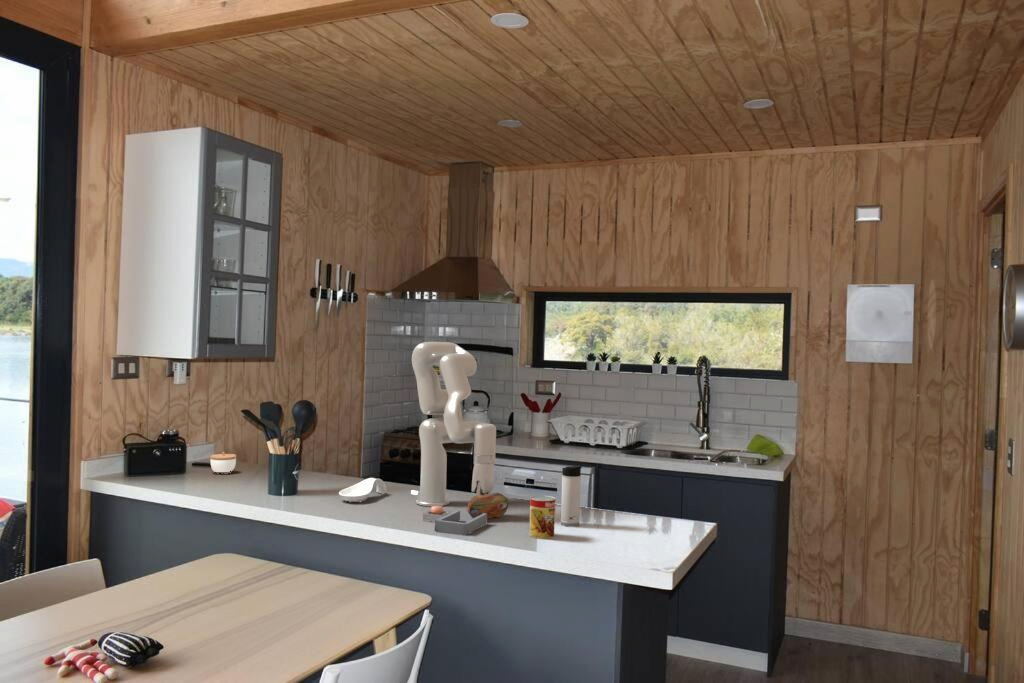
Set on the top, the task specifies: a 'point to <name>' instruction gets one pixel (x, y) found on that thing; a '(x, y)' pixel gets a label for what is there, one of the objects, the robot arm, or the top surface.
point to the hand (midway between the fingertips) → (483, 512)
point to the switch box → (434, 516)
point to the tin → (488, 505)
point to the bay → (452, 526)
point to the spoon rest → (362, 490)
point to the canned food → (542, 517)
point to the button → (437, 510)
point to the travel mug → (570, 496)
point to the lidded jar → (223, 462)
